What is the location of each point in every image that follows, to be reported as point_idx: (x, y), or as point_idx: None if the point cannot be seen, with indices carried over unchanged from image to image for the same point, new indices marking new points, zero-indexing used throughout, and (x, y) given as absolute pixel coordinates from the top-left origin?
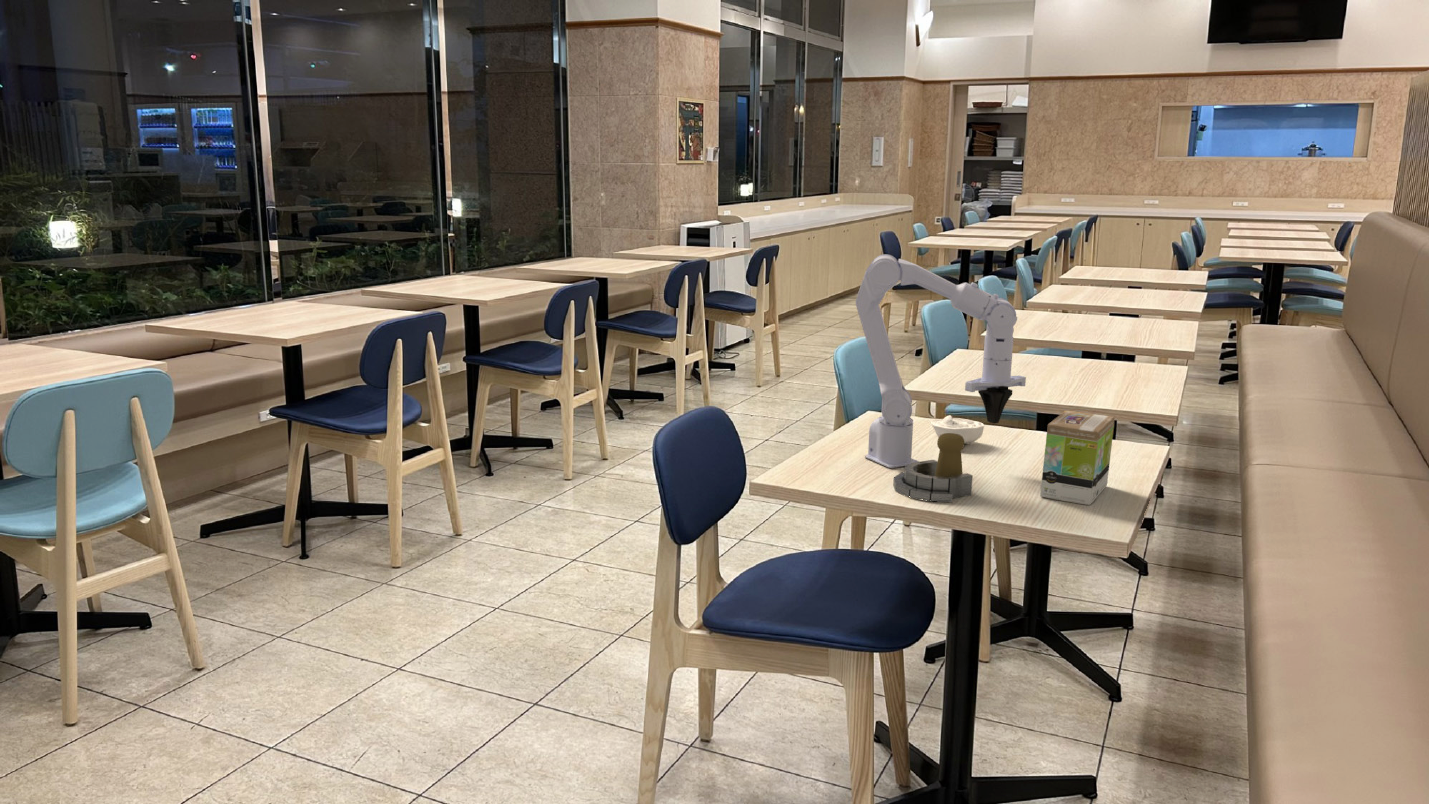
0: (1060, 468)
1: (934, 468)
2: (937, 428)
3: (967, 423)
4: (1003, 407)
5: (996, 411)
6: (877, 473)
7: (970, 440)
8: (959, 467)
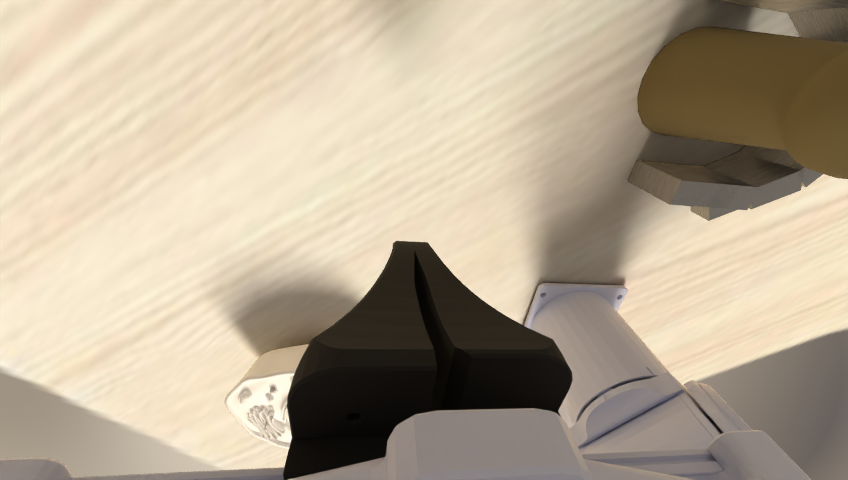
0: None
1: (677, 173)
2: None
3: (285, 405)
4: (384, 283)
5: (441, 273)
6: (673, 273)
7: None
8: (783, 37)
